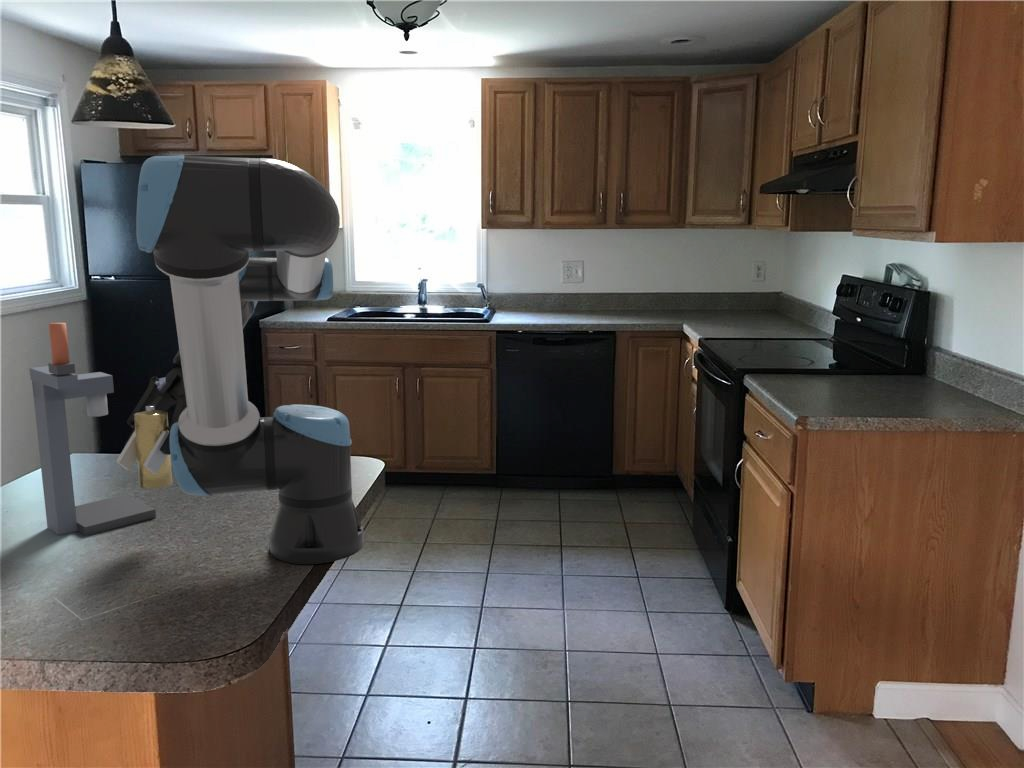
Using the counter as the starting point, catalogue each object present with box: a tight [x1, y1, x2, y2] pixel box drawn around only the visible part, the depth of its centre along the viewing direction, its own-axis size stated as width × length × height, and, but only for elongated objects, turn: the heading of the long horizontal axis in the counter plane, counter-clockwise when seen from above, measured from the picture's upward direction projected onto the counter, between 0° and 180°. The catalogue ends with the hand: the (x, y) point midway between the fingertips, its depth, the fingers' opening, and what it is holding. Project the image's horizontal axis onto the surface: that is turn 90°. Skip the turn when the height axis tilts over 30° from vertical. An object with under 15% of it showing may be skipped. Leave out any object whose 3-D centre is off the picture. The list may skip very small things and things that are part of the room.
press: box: [28, 365, 157, 536], centre depth 139 cm, size 15×15×28 cm
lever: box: [47, 322, 76, 375], centre depth 127 cm, size 4×3×8 cm
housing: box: [134, 406, 173, 490], centre depth 132 cm, size 5×5×13 cm
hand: (136, 467), depth 129 cm, fingers closed on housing, 5 cm apart
